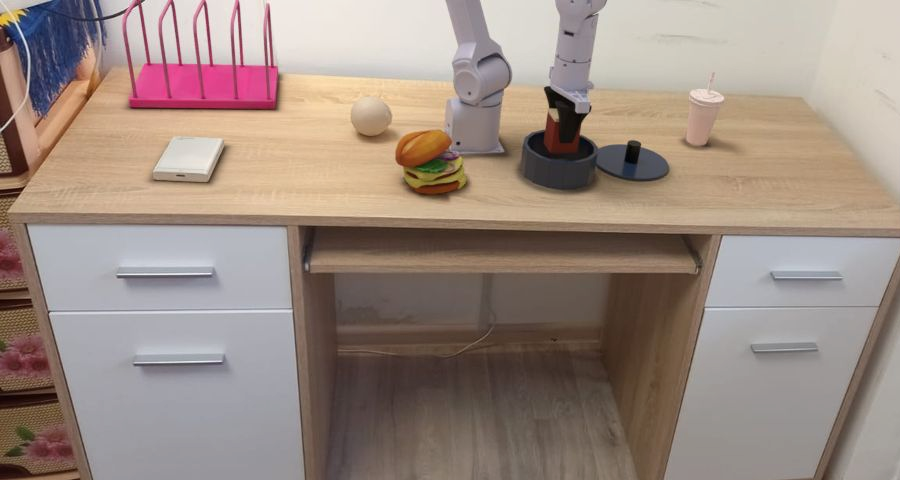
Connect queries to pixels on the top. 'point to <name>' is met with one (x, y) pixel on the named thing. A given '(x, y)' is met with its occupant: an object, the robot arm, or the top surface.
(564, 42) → the robot arm
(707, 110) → the smoothie
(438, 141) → the cheeseburger
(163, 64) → the file sorter
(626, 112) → the top surface
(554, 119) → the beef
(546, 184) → the pot
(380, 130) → the cream ball
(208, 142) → the hard drive
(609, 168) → the pot lid
